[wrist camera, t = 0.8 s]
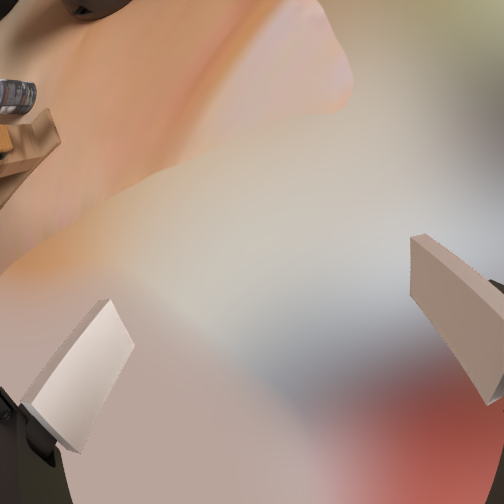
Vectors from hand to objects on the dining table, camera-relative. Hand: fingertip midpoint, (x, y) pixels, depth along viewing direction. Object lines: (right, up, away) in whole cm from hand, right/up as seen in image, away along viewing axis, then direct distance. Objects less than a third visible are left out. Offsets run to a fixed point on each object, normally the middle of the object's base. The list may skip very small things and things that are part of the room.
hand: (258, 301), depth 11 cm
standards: (-44, +17, +24) cm, 53 cm away
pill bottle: (-39, +29, +20) cm, 52 cm away
